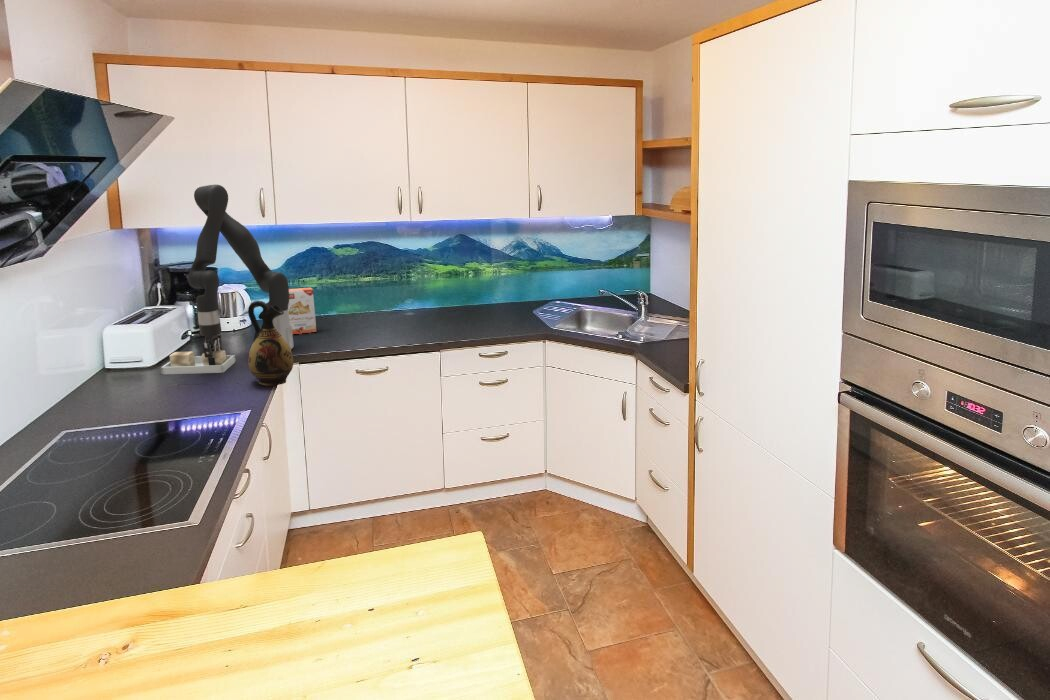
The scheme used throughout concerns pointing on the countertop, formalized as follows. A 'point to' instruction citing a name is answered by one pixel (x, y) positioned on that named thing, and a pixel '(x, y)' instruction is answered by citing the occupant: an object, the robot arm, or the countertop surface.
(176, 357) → the tan rounded block
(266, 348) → the ceramic jug
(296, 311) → the cracker box
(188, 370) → the white rectangular tray
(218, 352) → the orange-label box
